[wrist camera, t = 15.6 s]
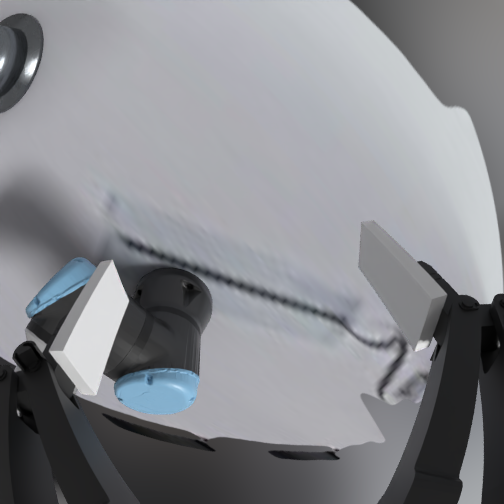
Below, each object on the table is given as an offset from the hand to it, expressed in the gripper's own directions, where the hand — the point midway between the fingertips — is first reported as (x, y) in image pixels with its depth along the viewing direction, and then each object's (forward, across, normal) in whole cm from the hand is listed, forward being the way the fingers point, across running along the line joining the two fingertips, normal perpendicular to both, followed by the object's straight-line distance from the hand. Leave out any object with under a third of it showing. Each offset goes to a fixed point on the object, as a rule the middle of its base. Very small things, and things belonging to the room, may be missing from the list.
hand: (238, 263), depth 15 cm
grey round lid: (+32, +38, -29) cm, 58 cm away
